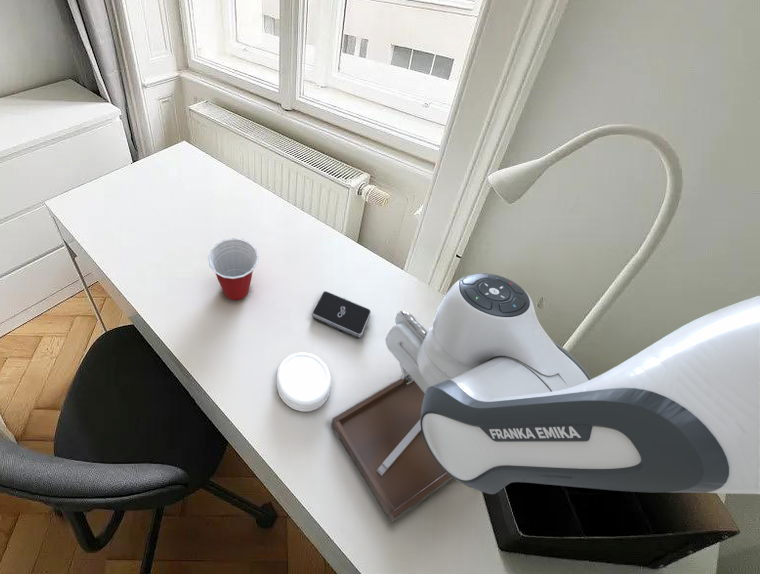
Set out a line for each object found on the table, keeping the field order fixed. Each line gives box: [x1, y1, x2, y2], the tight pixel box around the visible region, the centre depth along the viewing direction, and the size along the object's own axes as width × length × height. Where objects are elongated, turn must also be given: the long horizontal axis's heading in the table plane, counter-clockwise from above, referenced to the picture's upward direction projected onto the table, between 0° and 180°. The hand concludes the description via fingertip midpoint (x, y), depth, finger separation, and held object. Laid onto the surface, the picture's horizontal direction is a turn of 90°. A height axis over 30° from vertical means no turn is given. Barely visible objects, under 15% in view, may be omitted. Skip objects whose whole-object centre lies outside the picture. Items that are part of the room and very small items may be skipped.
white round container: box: [276, 352, 332, 413], centre depth 76 cm, size 10×10×4 cm
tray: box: [330, 378, 454, 524], centre depth 69 cm, size 16×25×2 cm, turn 117°
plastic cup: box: [207, 237, 260, 301], centre depth 90 cm, size 11×11×12 cm
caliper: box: [377, 420, 421, 476], centre depth 68 cm, size 20×1×6 cm, turn 129°
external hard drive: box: [311, 290, 372, 339], centre depth 88 cm, size 7×11×2 cm, turn 60°
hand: (428, 406), depth 64 cm, fingers open, 8 cm apart
